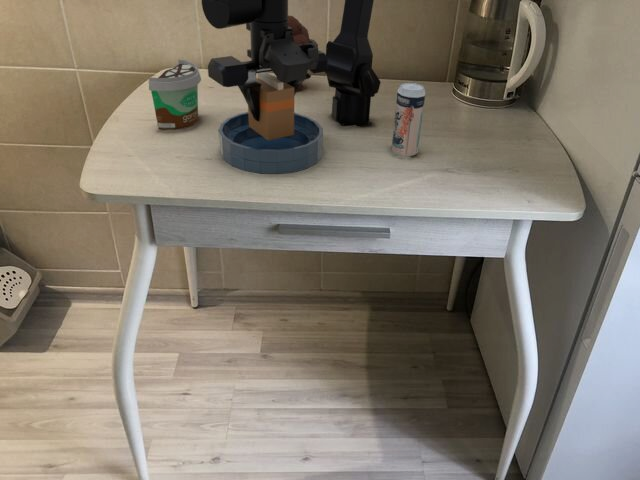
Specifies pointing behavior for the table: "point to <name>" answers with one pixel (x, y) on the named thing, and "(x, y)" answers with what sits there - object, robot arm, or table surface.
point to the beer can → (408, 119)
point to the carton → (274, 108)
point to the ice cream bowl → (299, 36)
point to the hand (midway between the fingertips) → (270, 117)
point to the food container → (176, 96)
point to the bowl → (270, 146)
